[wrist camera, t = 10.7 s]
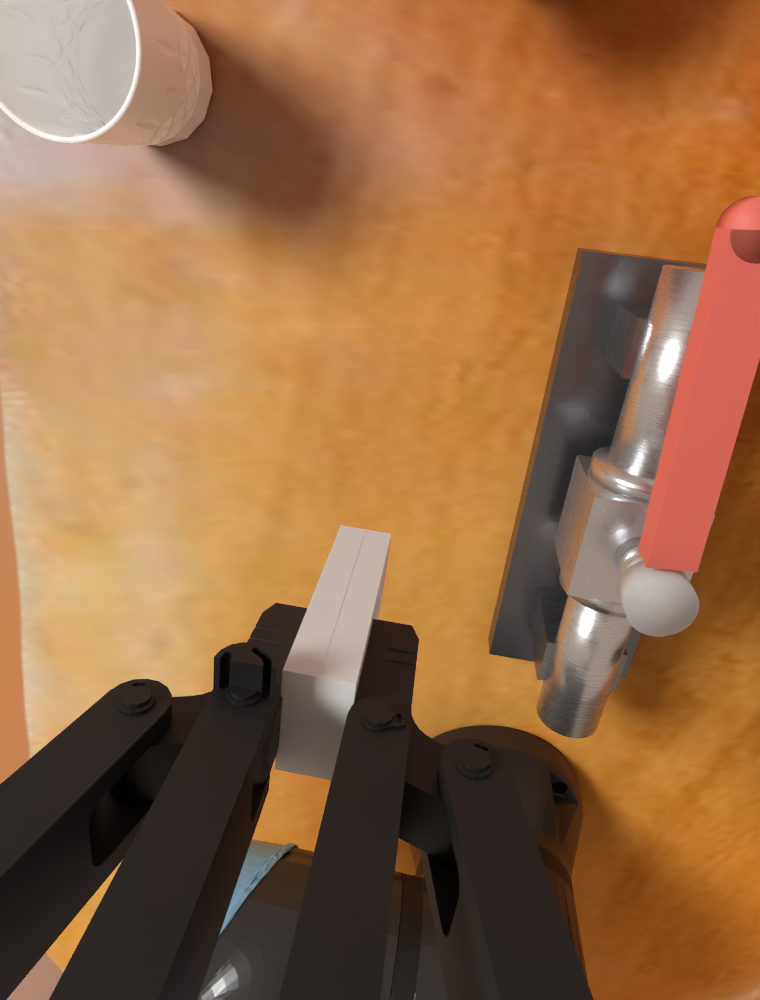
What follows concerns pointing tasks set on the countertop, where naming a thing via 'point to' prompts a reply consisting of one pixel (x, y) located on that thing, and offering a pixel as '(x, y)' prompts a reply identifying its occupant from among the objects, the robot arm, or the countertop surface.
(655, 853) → the countertop surface
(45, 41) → the white cup
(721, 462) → the valve lever
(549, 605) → the valve stand
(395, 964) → the robot arm
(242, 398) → the countertop surface
